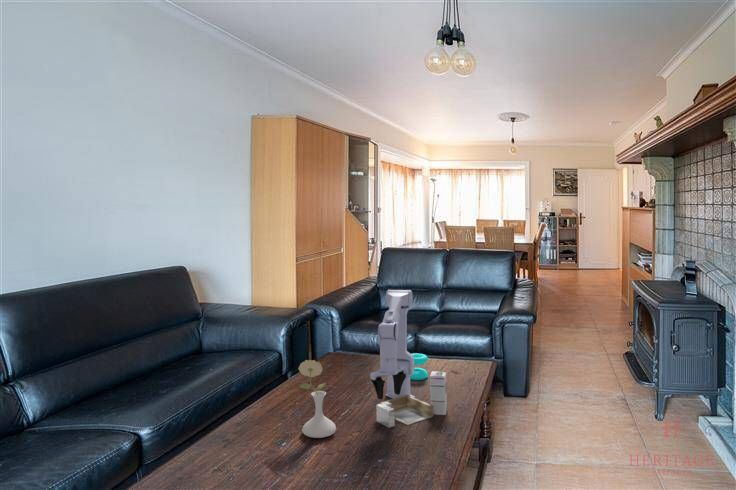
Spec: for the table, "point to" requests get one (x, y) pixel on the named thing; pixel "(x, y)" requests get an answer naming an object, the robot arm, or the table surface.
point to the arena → (410, 409)
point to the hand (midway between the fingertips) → (388, 396)
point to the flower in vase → (316, 404)
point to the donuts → (419, 372)
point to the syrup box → (438, 392)
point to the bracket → (385, 414)
